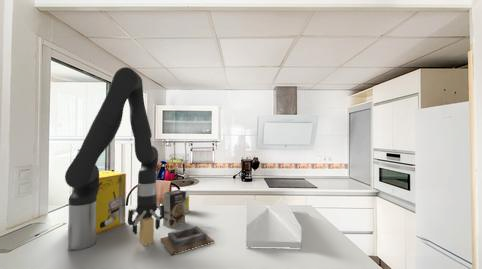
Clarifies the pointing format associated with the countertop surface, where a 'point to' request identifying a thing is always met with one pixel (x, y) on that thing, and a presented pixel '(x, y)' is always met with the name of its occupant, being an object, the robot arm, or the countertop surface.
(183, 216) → the coffee box
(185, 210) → the supplement bottle
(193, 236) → the slot base
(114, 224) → the packaging box
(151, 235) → the key block
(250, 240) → the building model
